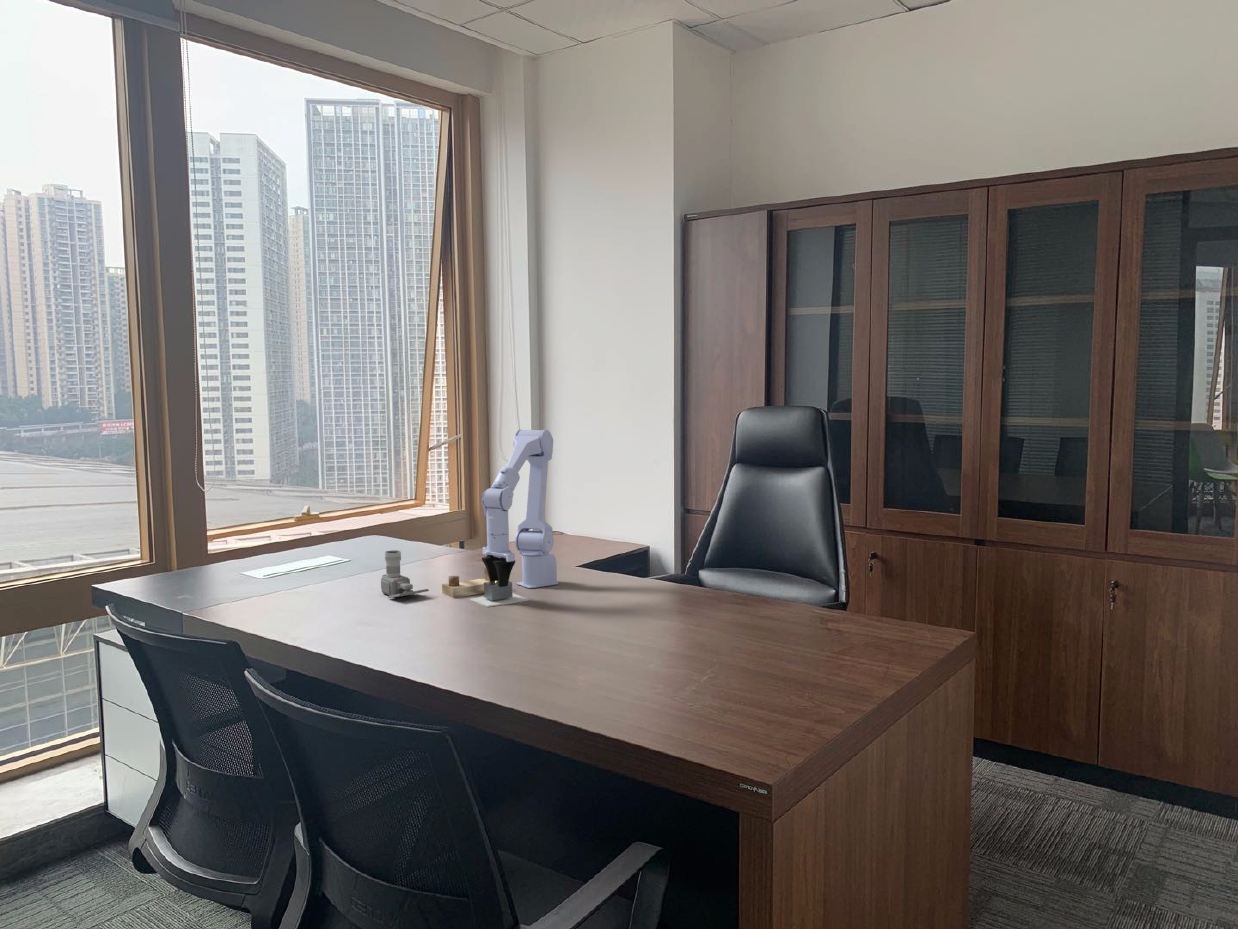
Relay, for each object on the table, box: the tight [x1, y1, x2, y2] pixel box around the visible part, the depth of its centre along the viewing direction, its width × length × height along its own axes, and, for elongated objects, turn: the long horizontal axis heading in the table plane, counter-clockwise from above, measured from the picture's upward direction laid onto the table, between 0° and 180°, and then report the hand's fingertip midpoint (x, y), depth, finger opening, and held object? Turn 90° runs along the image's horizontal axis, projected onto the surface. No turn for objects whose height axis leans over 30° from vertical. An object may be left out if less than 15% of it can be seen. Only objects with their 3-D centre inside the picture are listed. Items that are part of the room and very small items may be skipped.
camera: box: [380, 549, 430, 599], centre depth 253 cm, size 9×12×15 cm
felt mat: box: [470, 592, 529, 608], centre depth 246 cm, size 12×10×1 cm
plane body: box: [441, 567, 490, 599], centre depth 257 cm, size 15×7×6 cm, turn 125°
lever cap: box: [483, 580, 513, 601], centre depth 246 cm, size 6×4×4 cm
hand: (499, 584), depth 246 cm, fingers closed on lever cap, 4 cm apart
